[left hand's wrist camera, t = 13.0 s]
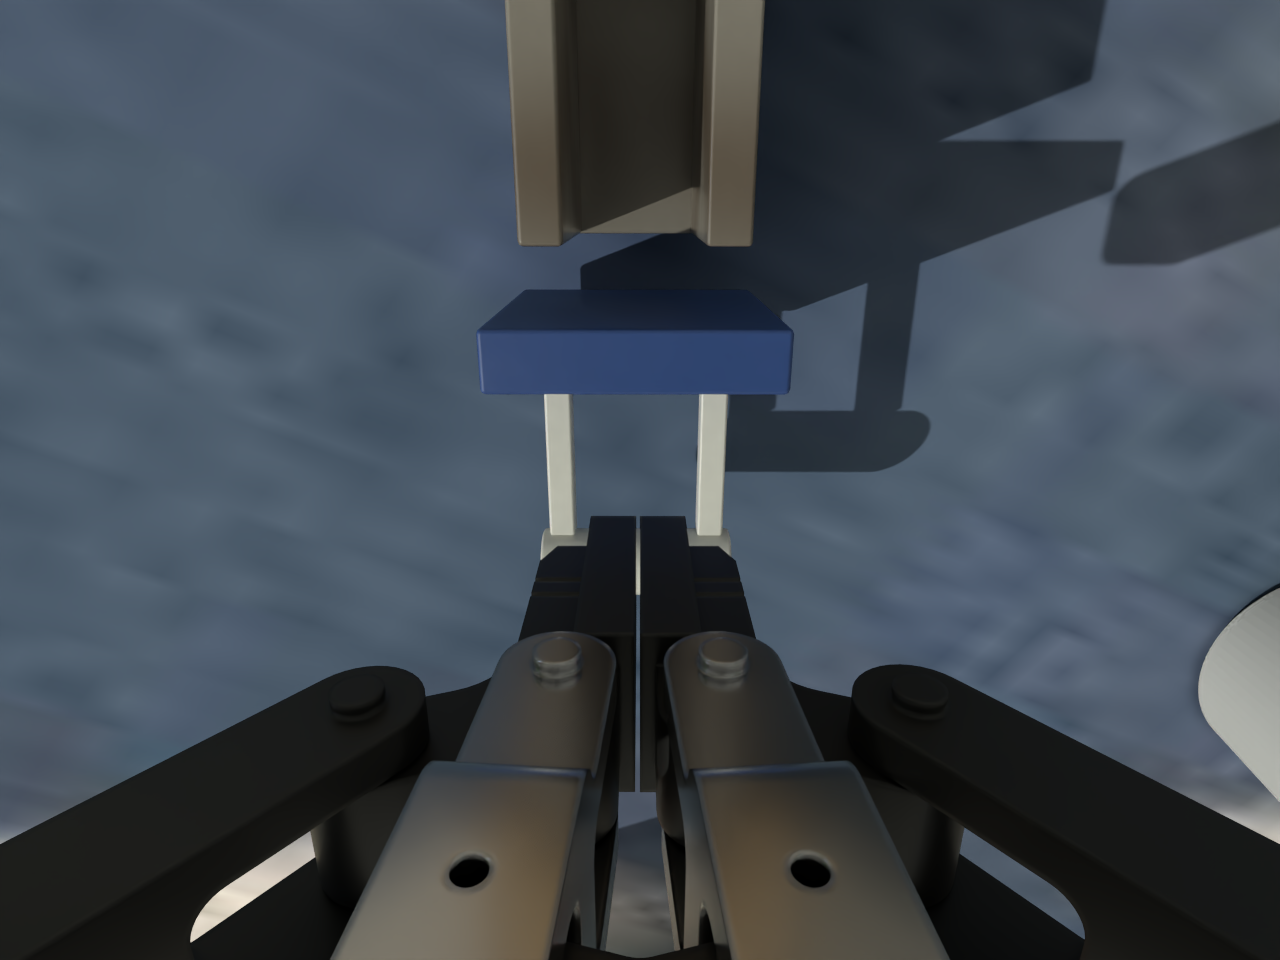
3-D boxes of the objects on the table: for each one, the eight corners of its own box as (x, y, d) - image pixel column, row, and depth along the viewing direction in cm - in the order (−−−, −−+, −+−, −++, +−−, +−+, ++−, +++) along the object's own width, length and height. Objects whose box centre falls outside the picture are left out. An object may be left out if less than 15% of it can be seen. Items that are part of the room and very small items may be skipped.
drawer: (736, 542, 22) (771, 666, 16) (536, 542, 22) (500, 665, 16) (795, -606, 14) (904, -1165, 8) (476, -606, 14) (362, -1166, 8)
